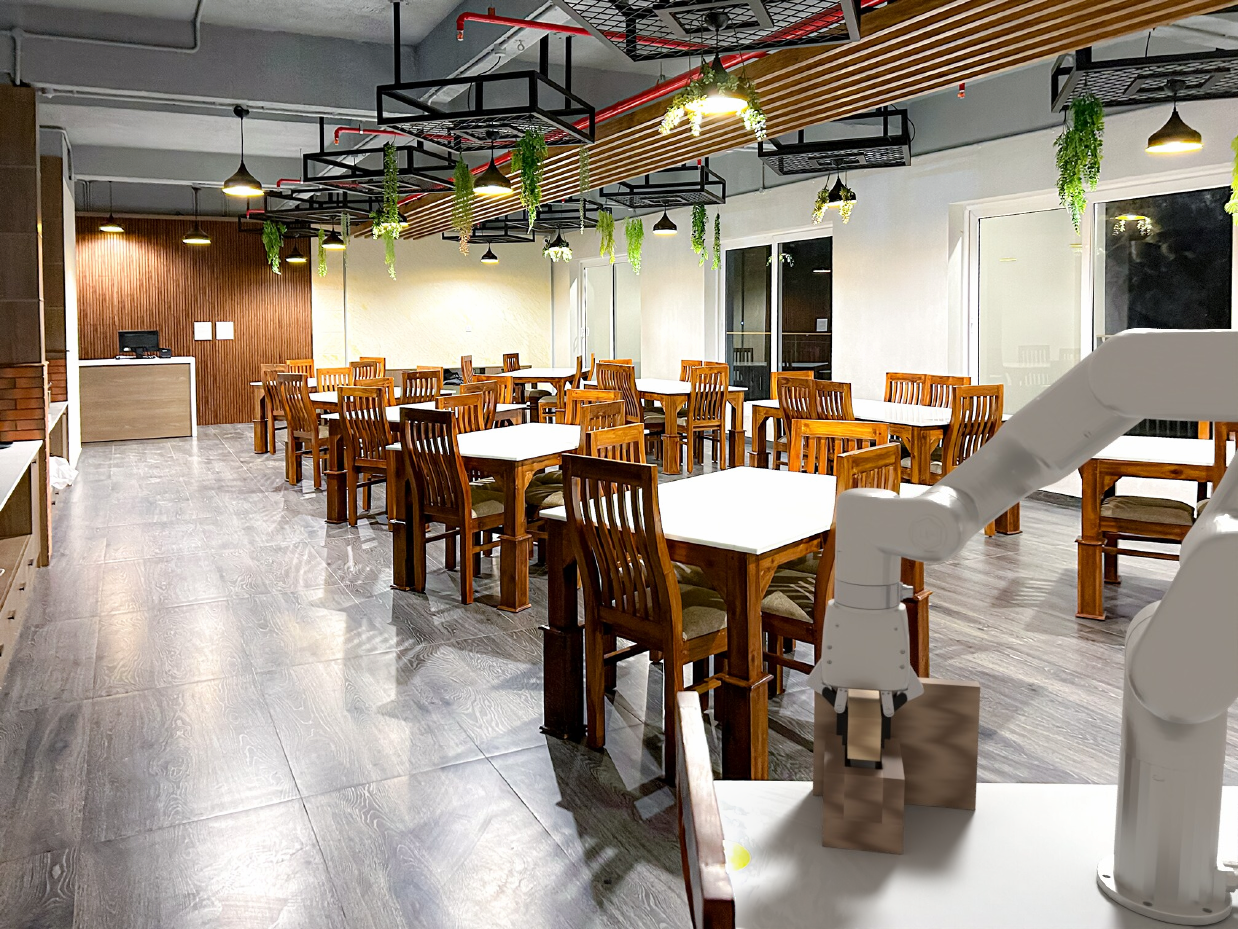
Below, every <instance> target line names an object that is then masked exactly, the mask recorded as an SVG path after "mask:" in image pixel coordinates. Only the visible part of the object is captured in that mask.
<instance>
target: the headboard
mask: <svg viewBox="0 0 1238 929" xmlns="http://www.w3.org/2000/svg"><path fill="white" fill-rule="evenodd" d="M917 677H918V676H917ZM918 679H919V680H920V682H921V684H922V685H923V688H924V693H923V694H922V695H920V696H918V697H916V698H914V699H912V700H908V701H907V702H906V703H905V704H904V705H903V706H901V707H900V708H899V709H898V710H896V711H895V712H894V714H893V716H891V737H890V740H889V739H885V745H884V749H880V761H875V769H867V768H855V767H850V759H849V758H848V745H847V744H846V746H845V745H842V736H840V735H836V725H837V712H836V711H835V709H834V707H833V706H832V705H831V704H830V703H829V702H828V701H827V700H826V699H825V698H824V697H823V696H822V695H821V694H820V693H818V692H816V691H815V690H814V701H813V702H814V704H813V705H814V706H813V708H814V709H813V710H814V711H813V760H812V762H813V764H812V765H813V766H812V768H813V769H812V796H820V797H821V796H822V797H823V798H822V837H821V838H822V840H821V841H822V843H821V846H822V847H826V848H827V847H828V848H836V849H837V848H838V849H846V850H856V851H857V850H858V851H866V852H877V853H886V854H892V855H893V854H895V855H904V854H903V850H904V846H903V845H904V819H905V818H904V817H905V816H904V815H905V812H904V811H905V804H907V805H914V806H915V805H917V806H926V807H937V808H938V807H940V808H947V809H959V810H971V811H976V808H977V806H976V804H977V783H978V782H977V780H978V779H977V778H978V756H979V754H978V753H979V751H978V750H979V732H980V730H979V729H980V709H981V708H980V706H981V705H980V704H981V703H980V702H981V701H980V700H981V685H980V683H979V681H978V680H977V681H975V680H963V679H962V680H961V679H947V678H946V679H945V678H933V677H918ZM821 680H822V678H821ZM822 681H823V680H822ZM908 685H909V684H908ZM833 688H834V690H835V691H836V689H837V688H836V687H833ZM896 692H897V691H896ZM896 692H892V695H893V694H894V693H896ZM879 699H880V705H881V704H882V696H881V691H879ZM846 702H847V707H848V694H847V699H846Z"/></svg>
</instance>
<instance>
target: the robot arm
mask: <svg viewBox="0 0 1238 929" xmlns="http://www.w3.org/2000/svg"><path fill="white" fill-rule="evenodd" d="M1145 419H1148V420H1149V419H1150V420H1163V421H1180V422H1181V421H1183V422H1186V421H1187V422H1219V423H1221V422H1222V423H1224V422H1225V423H1227V422H1229V423H1238V329H1237V328H1236V329H1161V328H1160V329H1159V328H1158V329H1157V328H1131V329H1125V330H1123V331H1119V332H1117V333H1115V334H1113V335H1111V336H1110V337H1108V338H1107V339H1106V340H1105V341H1103V342H1102V343H1101V344H1100V345H1099V346H1097V348H1095V349H1094V350H1093V351H1091V352H1090V353H1089V354H1088V355H1086V356H1085V357H1084V358H1083V359H1082V360H1080V361H1079V362H1078V363H1077V364H1075V365H1074V366H1073V367H1071V369H1069V370H1068V371H1067V372H1065V373H1064V374H1063V375H1061V377H1059V378H1058V379H1057V380H1055V381H1054V382H1053V383H1051V385H1049V386H1048V387H1046V388H1045V389H1044V390H1043V391H1041V393H1039V394H1038V395H1036V396H1035V397H1034V398H1032V400H1030V401H1029V402H1028V403H1026V404H1025V405H1024V406H1023V407H1021V408H1020V409H1019V410H1018V411H1016V412H1015V413H1013V415H1011V416H1010V417H1009V418H1008V419H1007V420H1006V421H1005V422H1003V423H1002V425H1001V426H1000V427H999V428H998V430H997V431H996V433H995V434H994V435H993V436H992V437H991V438H990V439H989V440H988V441H987V442H985V444H983V445H982V446H981V447H980V448H979V449H977V450H976V451H975V452H974V453H972V454H971V455H970V456H969V457H968V458H966V459H965V460H964V461H962V463H960V464H959V465H958V466H957V467H955V468H953V470H952V471H950V472H949V473H948V474H946V475H945V476H944V477H942V478H941V479H940V480H938V481H937V482H936V483H935V484H933V485H932V486H931V487H929V488H928V489H927V490H926V491H923V492H922V493H921V494H918V495H917V496H913V497H901V496H900V494H898V493H897V492H896V491H892V490H890V489H884V488H875V487H874V488H873V487H856V488H849V489H846V490H844V491H842V492H841V493H840V494H839V495H838V496H837V500H836V507H835V508H836V509H835V510H836V511H835V514H836V515H835V545H834V546H835V547H834V548H835V550H834V555H835V556H834V590H833V591H834V594H833V595H834V596H833V597H834V598H831V599H830V600H828V601H827V605H826V609H825V615H824V621H823V629H822V640H821V641H822V642H821V657H820V659H819V660H818V662H817V663H816V664H815V666H814V667H813V669H812V671H811V672H810V673H809V674H808V676H807V678H806V685H807V687H809V688H810V689H812V690H813V691H814V692H815V691H816V692H818V693H820V694H821V695H822V696H823V697H824V698H825V699H826V700H827V701H828V702H829V703H830V704H831V705H832V706H833V707H834V709H835V711H836V712H837V725H836V735H840V736H842V745H845V746H846V744H847V745H848V707H847V702H846V699H847V694H848V689H859V690H873V691H881V696H882V704H881V705H880V710H881V749H884V745H885V739H889V740H890V737H891V716H893V714H894V712H895V711H896V710H898V709H899V708H900V707H901V706H903V705H904V704H905V703H906V702H907V701H908V700H912V699H914V698H916V697H918V696H920V695H922V694H923V693H924V688H923V685H922V684H921V682H920V680H919V679H918V675H917V673H916V671H914V669H913V667H912V665H911V663H910V662H911V661H910V659H911V657H910V654H911V653H910V652H911V651H910V631H909V619H908V612H907V608H906V604H904V603H903V602H901V601H903V600H904V599H907V598H913V597H914V586H912V585H907V584H904V583H903V581H901V574H902V573H901V570H902V566H901V564H902V558H904V559H908V560H913V561H917V562H920V563H925V564H926V563H928V564H938V563H944V562H947V561H949V560H952V559H953V558H955V557H956V556H957V555H958V554H960V552H961V551H963V549H964V547H965V546H966V545H967V543H968V542H969V541H970V540H971V539H972V538H973V537H974V536H976V535H977V534H978V533H979V532H981V531H982V530H983V529H984V528H986V527H987V526H988V525H989V524H991V523H992V522H993V521H995V520H996V519H998V518H999V517H1000V516H1001V515H1003V514H1005V512H1007V511H1008V510H1009V509H1011V508H1013V507H1014V506H1015V505H1017V504H1018V503H1019V502H1021V501H1022V500H1024V499H1026V497H1028V496H1030V495H1031V494H1034V493H1035V492H1036V491H1037V492H1038V490H1042V489H1043V488H1045V487H1048V486H1051V485H1054V484H1056V483H1058V482H1060V481H1061V480H1063V479H1065V478H1066V477H1068V476H1069V475H1071V474H1072V473H1074V472H1075V471H1077V470H1078V469H1079V468H1081V467H1082V466H1083V465H1084V464H1085V463H1087V462H1089V461H1090V460H1091V459H1092V458H1093V457H1094V456H1096V455H1097V454H1099V453H1100V452H1101V451H1103V450H1104V449H1105V448H1107V447H1108V446H1109V445H1111V444H1112V443H1114V442H1115V441H1116V440H1118V439H1119V438H1121V437H1122V436H1123V435H1124V434H1126V433H1127V432H1129V431H1130V430H1131V429H1133V428H1134V427H1135V426H1137V425H1138V424H1139V423H1140V422H1142V421H1143V420H1145ZM1178 558H1179V561H1178V562H1179V568H1178V569H1177V570H1178V571H1177V572H1176V574H1175V576H1174V577H1173V579H1172V581H1171V583H1169V586H1168V588H1167V589H1166V592H1165V593H1164V594H1163V597H1162V598H1161V599H1160V600H1156V601H1154V602H1151V603H1149V604H1148V605H1145V606H1144V607H1143V608H1142V609H1140V610H1139V611H1138V612H1137V613H1136V614H1135V615H1134V616H1133V619H1131V622H1130V623H1129V625H1128V628H1127V631H1126V634H1125V638H1124V652H1123V653H1124V654H1123V655H1124V656H1123V663H1124V664H1123V665H1124V666H1123V668H1124V670H1123V691H1122V708H1121V709H1122V711H1121V725H1120V726H1121V728H1120V743H1119V756H1118V757H1119V760H1118V773H1117V774H1118V775H1117V789H1116V790H1117V793H1116V806H1115V807H1116V810H1115V811H1116V813H1115V825H1114V826H1115V827H1114V828H1115V829H1114V840H1113V841H1114V842H1113V854H1111V855H1108V856H1106V857H1104V858H1103V859H1101V861H1099V862H1098V864H1097V868H1096V881H1097V884H1098V886H1099V887H1100V888H1101V890H1102V891H1103V892H1104V893H1105V894H1106V895H1107V896H1108V897H1109V898H1110V899H1111V900H1113V901H1115V903H1117V904H1119V905H1121V906H1122V907H1124V908H1126V909H1128V910H1130V911H1132V912H1134V913H1137V914H1140V915H1142V916H1145V917H1148V918H1150V919H1154V920H1157V921H1160V922H1166V923H1170V924H1175V925H1184V926H1205V925H1212V924H1217V923H1218V922H1220V921H1224V920H1226V918H1227V917H1229V916H1230V915H1231V913H1232V906H1233V897H1232V894H1231V893H1235V892H1236V890H1238V861H1231V860H1229V861H1226V860H1223V861H1222V860H1220V858H1219V856H1218V854H1219V853H1218V850H1219V840H1220V824H1221V823H1220V822H1221V810H1222V794H1223V784H1224V783H1223V781H1224V770H1225V769H1224V767H1225V763H1226V750H1227V734H1228V713H1229V711H1228V709H1230V708H1231V706H1233V704H1234V703H1235V701H1237V699H1238V448H1237V450H1236V451H1235V453H1234V455H1233V456H1232V459H1231V461H1230V463H1229V465H1228V467H1227V468H1226V471H1225V472H1224V474H1223V477H1222V478H1221V480H1220V482H1219V483H1218V485H1217V487H1216V488H1215V489H1214V491H1213V493H1212V495H1211V496H1210V499H1209V500H1208V502H1207V504H1206V505H1205V506H1204V508H1203V510H1202V512H1201V513H1200V515H1199V516H1198V518H1197V519H1196V521H1195V522H1194V524H1193V525H1192V526H1191V528H1190V529H1189V531H1188V532H1187V533H1186V535H1185V537H1184V538H1183V540H1182V542H1181V546H1180V548H1179V557H1178ZM821 678H822V680H823V681H822V680H821ZM908 684H909V685H908ZM833 687H836V688H837V689H836V691H835V690H834V688H833ZM896 691H897V692H896ZM892 692H896V693H894V694H893V695H892Z"/></svg>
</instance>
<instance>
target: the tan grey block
mask: <svg viewBox="0 0 1238 929" xmlns="http://www.w3.org/2000/svg"><path fill="white" fill-rule="evenodd" d="M880 749H881V710H880V699H879V691H873V690H859V689H848V758H849V759H850V767H855V768H867V769H875V761H880Z"/></svg>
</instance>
